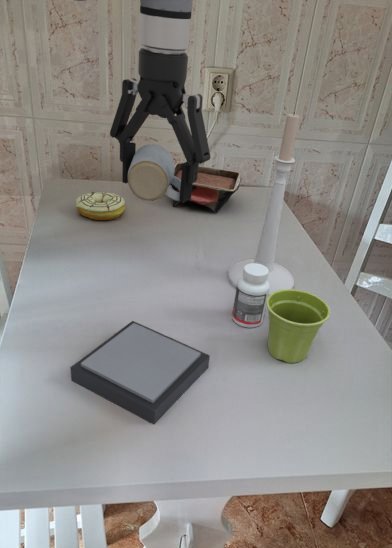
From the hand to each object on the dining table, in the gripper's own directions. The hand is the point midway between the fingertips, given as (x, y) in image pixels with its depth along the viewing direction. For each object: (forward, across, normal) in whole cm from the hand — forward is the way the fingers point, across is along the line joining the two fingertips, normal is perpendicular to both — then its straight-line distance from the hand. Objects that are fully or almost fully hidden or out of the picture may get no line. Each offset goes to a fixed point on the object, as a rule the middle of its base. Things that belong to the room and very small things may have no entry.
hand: (156, 190), depth 87 cm
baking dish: (+14, +8, -33) cm, 37 cm away
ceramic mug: (+1, 0, 0) cm, 1 cm away
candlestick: (+14, -20, -8) cm, 26 cm away
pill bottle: (+14, -24, +6) cm, 29 cm away
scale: (+14, -18, +28) cm, 36 cm away
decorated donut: (+15, +22, -11) cm, 29 cm away
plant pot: (+14, -33, +10) cm, 37 cm away
